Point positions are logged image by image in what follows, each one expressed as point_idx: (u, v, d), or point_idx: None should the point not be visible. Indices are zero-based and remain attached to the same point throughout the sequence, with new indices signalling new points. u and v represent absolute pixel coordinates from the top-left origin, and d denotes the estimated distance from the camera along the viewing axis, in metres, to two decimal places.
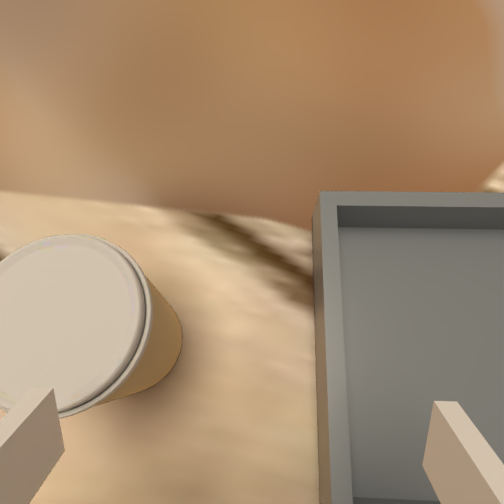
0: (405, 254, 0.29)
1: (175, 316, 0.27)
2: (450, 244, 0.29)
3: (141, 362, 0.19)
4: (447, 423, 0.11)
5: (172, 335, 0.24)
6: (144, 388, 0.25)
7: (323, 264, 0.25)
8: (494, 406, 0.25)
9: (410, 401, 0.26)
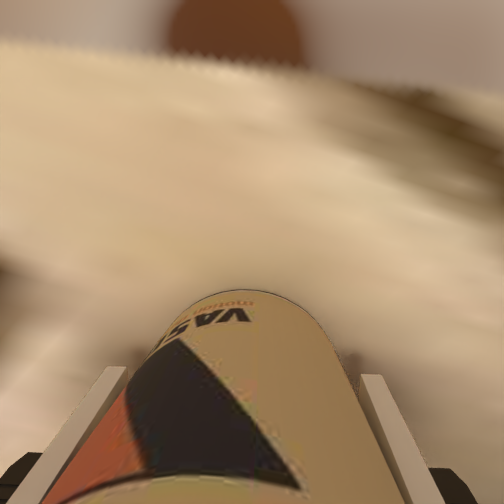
0: None
1: None
2: None
3: None
4: (367, 392, 0.12)
5: None
6: None
7: None
8: None
9: None
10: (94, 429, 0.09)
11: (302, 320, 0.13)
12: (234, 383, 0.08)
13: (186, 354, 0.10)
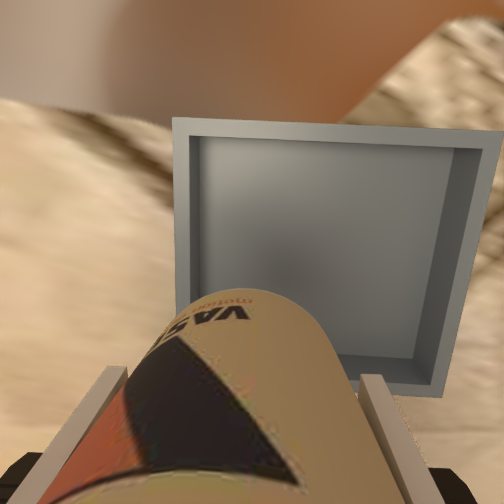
0: (273, 169, 0.30)
1: None
2: (318, 160, 0.30)
3: None
4: (367, 392, 0.12)
5: None
6: None
7: (174, 198, 0.27)
8: (318, 296, 0.33)
9: None
10: None
11: (301, 318, 0.13)
12: (232, 380, 0.08)
13: (185, 351, 0.10)
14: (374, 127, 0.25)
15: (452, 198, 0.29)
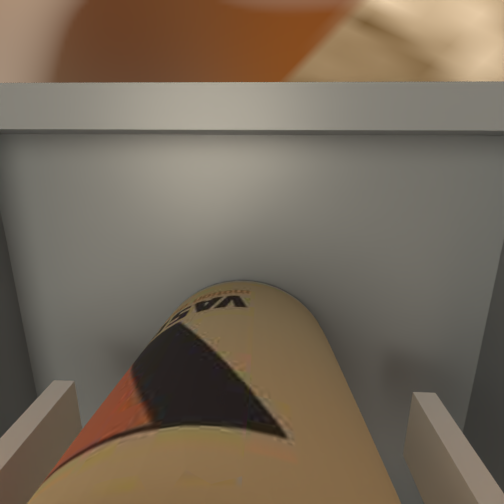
0: (145, 195, 0.15)
1: None
2: (236, 173, 0.14)
3: None
4: (424, 413, 0.11)
5: None
6: None
7: None
8: None
9: None
10: None
11: (295, 307, 0.14)
12: (230, 356, 0.09)
13: (187, 334, 0.10)
14: (339, 86, 0.09)
15: None
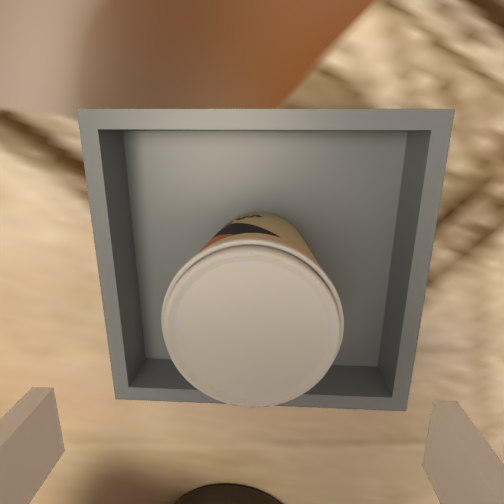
0: (207, 164, 0.27)
1: None
2: (256, 152, 0.26)
3: None
4: (447, 423, 0.11)
5: None
6: None
7: (90, 201, 0.24)
8: None
9: None
10: None
11: (287, 222, 0.26)
12: (258, 225, 0.21)
13: (236, 223, 0.23)
14: (304, 111, 0.22)
15: (406, 188, 0.25)
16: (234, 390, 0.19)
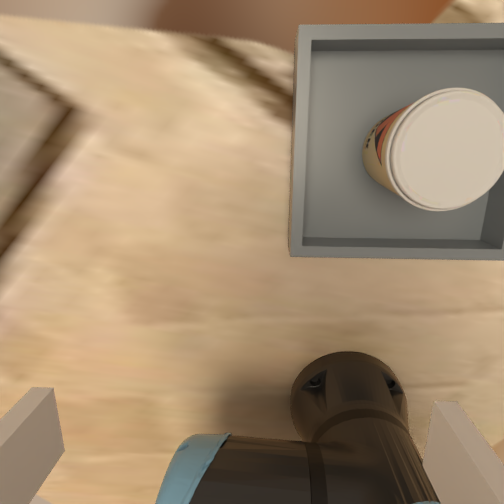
0: (366, 76, 0.37)
1: None
2: (404, 66, 0.36)
3: None
4: (447, 423, 0.11)
5: None
6: None
7: (296, 94, 0.34)
8: None
9: (349, 185, 0.40)
10: (386, 122, 0.32)
11: None
12: None
13: None
14: (460, 24, 0.32)
15: None
16: (432, 196, 0.28)
